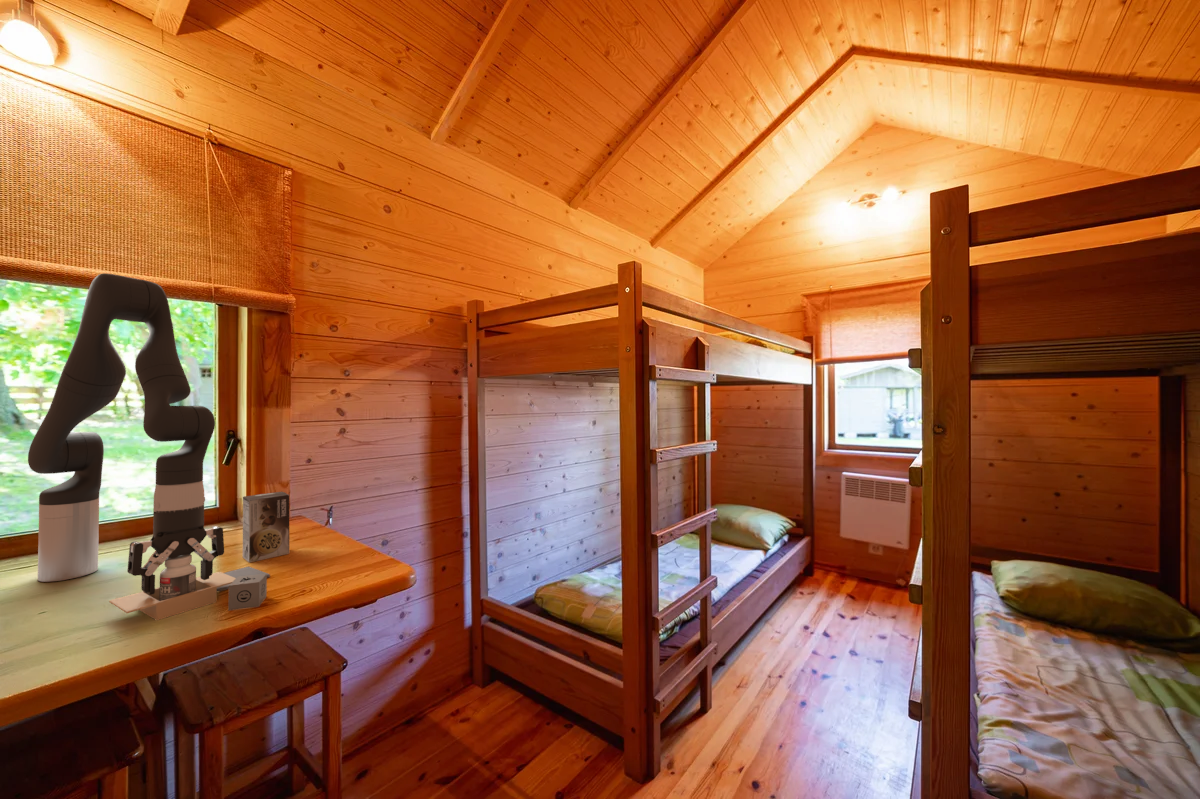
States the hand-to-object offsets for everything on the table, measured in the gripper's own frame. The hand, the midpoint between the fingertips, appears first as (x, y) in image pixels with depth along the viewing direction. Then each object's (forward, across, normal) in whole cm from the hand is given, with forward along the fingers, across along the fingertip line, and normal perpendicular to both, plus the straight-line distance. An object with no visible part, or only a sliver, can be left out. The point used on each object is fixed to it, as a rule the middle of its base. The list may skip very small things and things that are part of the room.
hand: (178, 586), depth 92 cm
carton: (+4, 0, 0) cm, 4 cm away
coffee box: (+4, -24, -18) cm, 30 cm away
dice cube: (+4, -8, +11) cm, 14 cm away
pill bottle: (+4, 0, 0) cm, 4 cm away
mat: (+4, -12, -6) cm, 14 cm away
